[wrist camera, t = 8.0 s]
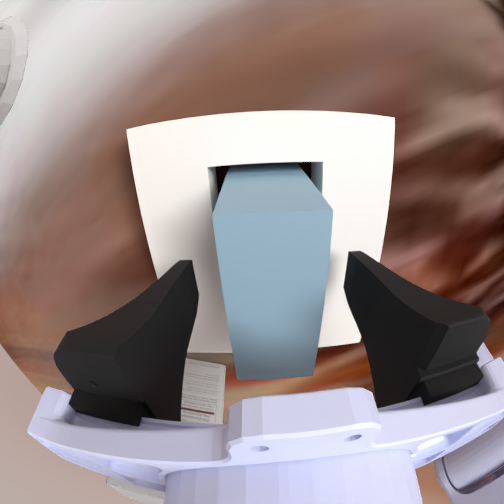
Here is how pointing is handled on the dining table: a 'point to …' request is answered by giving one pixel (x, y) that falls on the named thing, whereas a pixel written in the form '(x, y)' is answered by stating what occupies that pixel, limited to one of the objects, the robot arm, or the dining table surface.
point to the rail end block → (273, 267)
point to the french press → (11, 61)
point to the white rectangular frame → (261, 151)
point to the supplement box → (187, 415)
